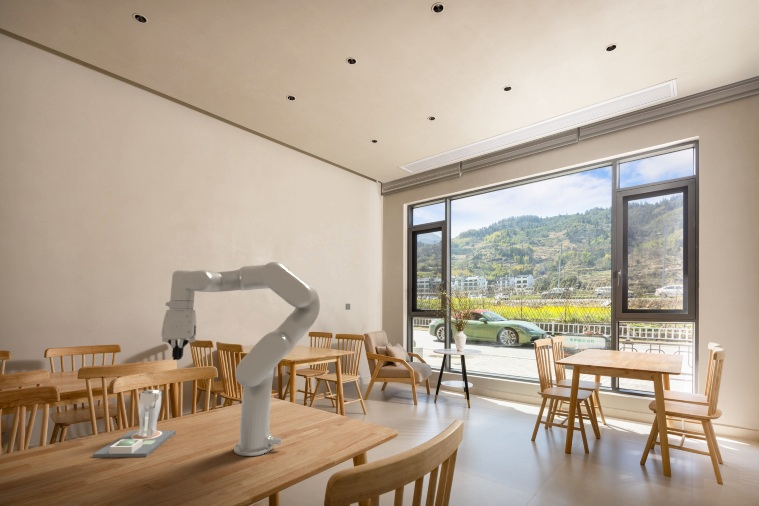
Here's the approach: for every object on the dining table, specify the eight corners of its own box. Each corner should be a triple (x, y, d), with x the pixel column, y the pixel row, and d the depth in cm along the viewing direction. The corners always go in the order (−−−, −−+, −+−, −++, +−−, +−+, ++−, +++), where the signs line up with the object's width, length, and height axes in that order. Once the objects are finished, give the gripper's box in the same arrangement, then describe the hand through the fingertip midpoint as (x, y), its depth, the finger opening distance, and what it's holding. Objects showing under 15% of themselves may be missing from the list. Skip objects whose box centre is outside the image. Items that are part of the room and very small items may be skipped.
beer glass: (148, 439, 136) (152, 394, 138) (131, 437, 137) (135, 393, 139) (162, 432, 143) (166, 390, 145) (146, 431, 144) (150, 388, 146)
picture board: (175, 433, 146) (176, 424, 146) (146, 456, 124) (147, 446, 124) (130, 433, 144) (131, 425, 145) (92, 457, 122) (93, 447, 123)
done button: (136, 445, 129) (137, 439, 129) (129, 450, 125) (130, 444, 125) (122, 445, 129) (123, 439, 129) (115, 450, 124) (115, 444, 125)
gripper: (154, 305, 133) (149, 360, 131) (199, 306, 134) (195, 361, 132) (164, 305, 140) (159, 357, 138) (207, 306, 142) (203, 358, 139)
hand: (177, 359), depth 135 cm, fingers closed
